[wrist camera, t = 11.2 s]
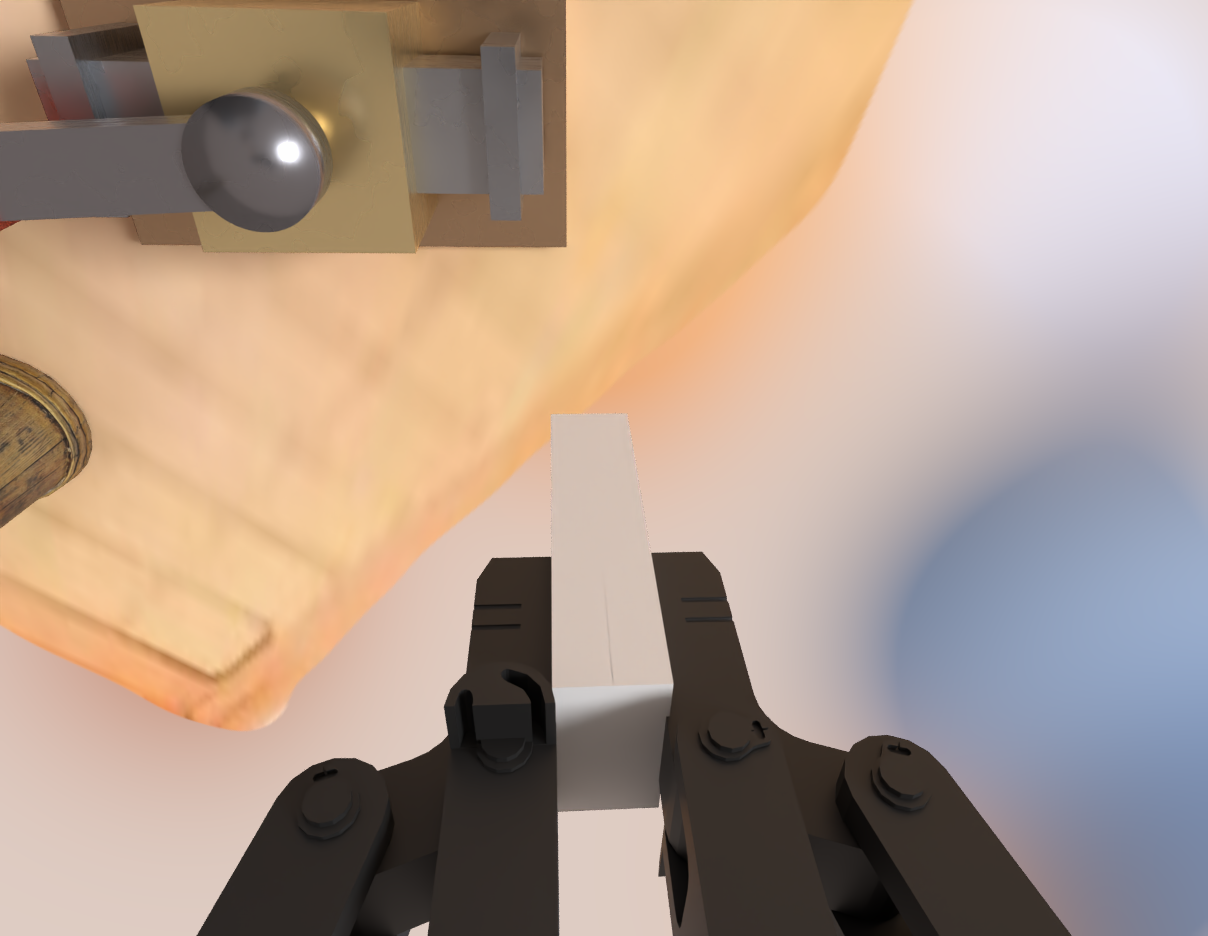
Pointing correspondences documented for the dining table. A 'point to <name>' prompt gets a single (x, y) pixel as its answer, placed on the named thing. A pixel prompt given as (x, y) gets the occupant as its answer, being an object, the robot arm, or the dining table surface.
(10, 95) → the dining table surface
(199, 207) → the lever
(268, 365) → the dining table surface
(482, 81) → the valve body
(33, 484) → the wooden mug
